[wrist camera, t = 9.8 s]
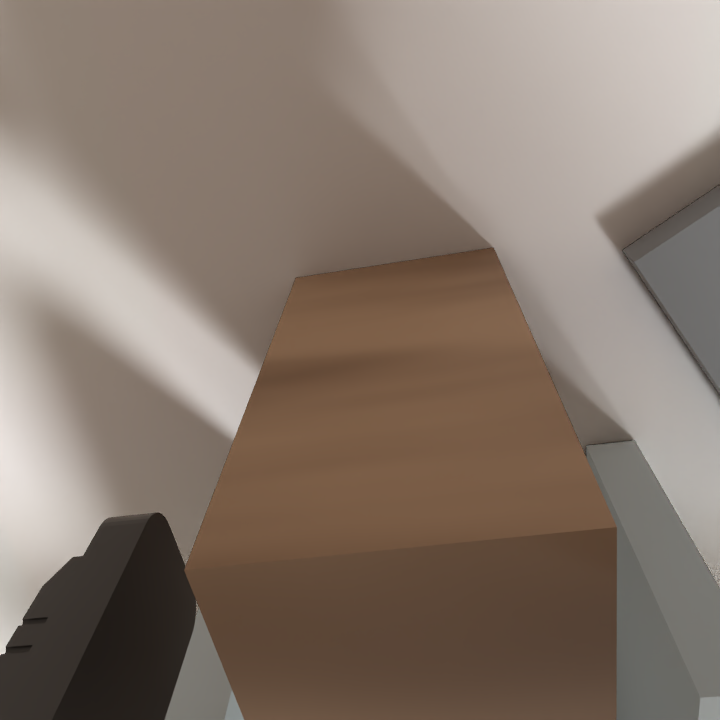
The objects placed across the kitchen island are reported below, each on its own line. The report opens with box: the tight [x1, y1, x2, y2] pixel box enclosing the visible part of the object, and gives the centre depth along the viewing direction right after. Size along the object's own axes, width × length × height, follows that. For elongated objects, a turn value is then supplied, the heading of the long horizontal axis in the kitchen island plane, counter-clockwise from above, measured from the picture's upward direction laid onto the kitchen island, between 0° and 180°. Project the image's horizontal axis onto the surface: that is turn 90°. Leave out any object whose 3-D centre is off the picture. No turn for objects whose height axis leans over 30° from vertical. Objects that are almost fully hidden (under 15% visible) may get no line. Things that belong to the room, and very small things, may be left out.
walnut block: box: [184, 248, 617, 720], centre depth 12 cm, size 4×4×9 cm
